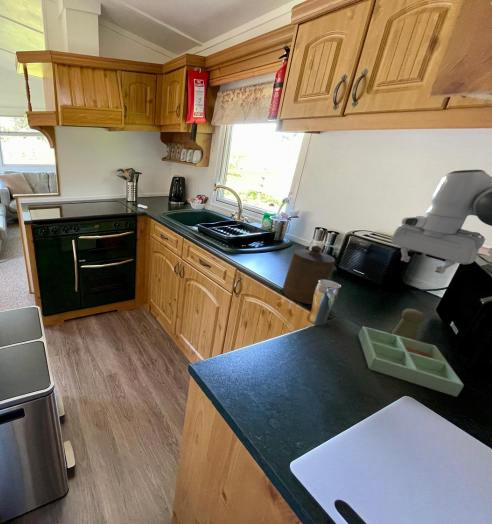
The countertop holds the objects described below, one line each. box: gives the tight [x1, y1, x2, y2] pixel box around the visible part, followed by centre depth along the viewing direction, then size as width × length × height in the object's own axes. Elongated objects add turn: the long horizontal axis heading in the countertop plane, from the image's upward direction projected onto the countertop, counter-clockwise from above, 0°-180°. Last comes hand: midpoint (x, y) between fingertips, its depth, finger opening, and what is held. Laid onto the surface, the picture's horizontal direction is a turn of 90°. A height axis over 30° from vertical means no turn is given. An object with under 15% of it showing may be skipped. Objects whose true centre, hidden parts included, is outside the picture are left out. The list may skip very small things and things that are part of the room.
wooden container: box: [282, 245, 336, 305], centre depth 117 cm, size 15×15×22 cm
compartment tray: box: [358, 325, 465, 398], centre depth 83 cm, size 18×18×4 cm
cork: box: [390, 308, 425, 340], centre depth 93 cm, size 6×6×11 cm
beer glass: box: [306, 279, 342, 327], centre depth 99 cm, size 7×7×15 cm
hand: (421, 266), depth 93 cm, fingers open, 8 cm apart
